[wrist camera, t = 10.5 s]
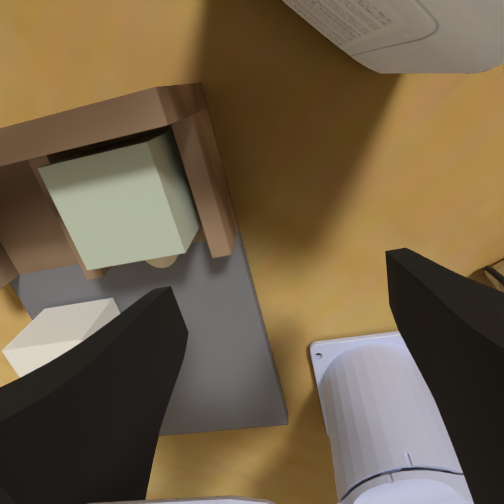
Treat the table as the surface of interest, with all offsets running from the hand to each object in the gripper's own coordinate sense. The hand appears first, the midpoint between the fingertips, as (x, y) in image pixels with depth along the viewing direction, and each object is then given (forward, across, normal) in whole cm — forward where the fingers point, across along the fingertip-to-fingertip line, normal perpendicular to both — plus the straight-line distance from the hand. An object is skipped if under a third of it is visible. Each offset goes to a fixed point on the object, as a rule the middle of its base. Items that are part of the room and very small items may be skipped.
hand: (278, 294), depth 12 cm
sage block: (+8, +7, -2) cm, 11 cm away
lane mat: (+9, +10, +9) cm, 17 cm away
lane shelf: (+9, +10, -3) cm, 14 cm away
